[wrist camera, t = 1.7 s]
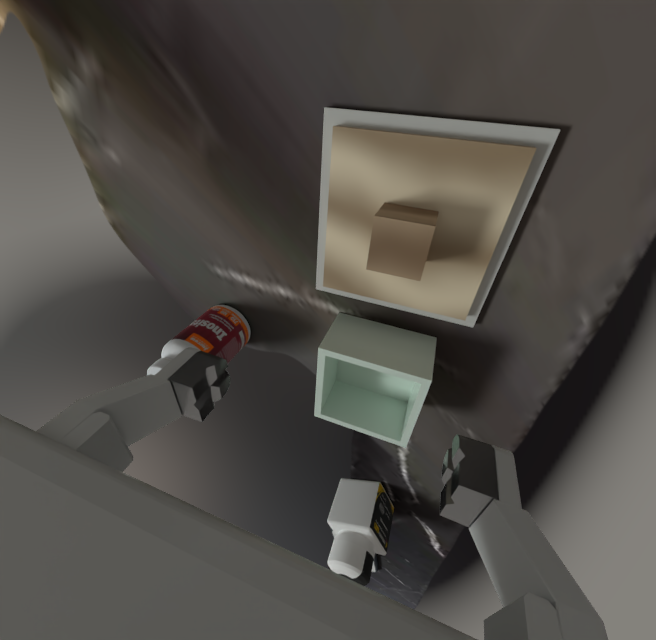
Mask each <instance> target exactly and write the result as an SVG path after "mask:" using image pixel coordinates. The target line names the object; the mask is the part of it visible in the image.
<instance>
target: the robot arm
mask: <svg viewBox="0 0 656 640" xmlns="http://www.w3.org/2000/svg"><path fill="white" fill-rule="evenodd" d="M227 367H228V364H227V360H226V359H223V358H220V357H218V356H215V355H212V354H209V353H206V352H204V351H201V350H198V349H195V348H192V347H188V348H185V349H184V350H183V351H182V352H181V353H179V354H178V355H177V356H176V357H175V358H174V359H173V360H171V361H170V362H169V363H168V364H167V365H166V366H165V367H163V368H162V369H161V370H160V371H159V372H158V373H157V374H155V375H152V374H150V375H147V376H145V377H142V378H139V379H136V380H133V381H130V382H127V383H125V384H122V385H119V386H116V387H113V388H111V389H107V390H105V391H102V392H99V393H96V394H93V395H90V396H88V397H85V398H82V399H79V400H77V401H76V402H74V403H73V404H71V405H70V406H69V407H67V408H66V409H65V410H64V411H62V412H61V413H60V414H58V415H57V416H56V417H54V418H53V419H52V420H50V421H49V422H48V423H46V424H45V425H44V426H42V427H41V428H40V429H39V430H37V431H34V430H32V429H30V428H28V427H25V426H24V425H21V424H19V423H17V422H15V421H13V420H11V419H9V418H6V417H4V416H2V415H0V640H477V639H475V638H473V637H471V636H469V635H466V634H464V633H462V632H460V631H458V630H456V629H454V628H452V627H449V626H447V625H445V624H443V623H441V622H439V621H437V620H435V619H433V618H430V617H428V616H426V615H424V614H422V613H420V612H418V611H416V610H413V609H411V608H409V607H407V606H405V605H403V604H401V603H399V602H397V601H394V600H392V599H390V598H388V597H386V596H384V595H382V594H380V593H377V592H375V591H373V590H371V589H369V588H367V587H365V586H363V585H360V584H358V583H356V582H354V581H352V580H350V579H348V578H346V577H344V576H341V575H339V574H337V573H335V572H333V571H331V570H329V569H326V568H324V567H322V566H320V565H318V564H316V563H314V562H312V561H310V560H307V559H305V558H303V557H301V556H299V555H297V554H295V553H293V552H290V551H288V550H286V549H284V548H282V547H280V546H278V545H276V544H274V543H271V542H269V541H267V540H265V539H263V538H261V537H259V536H257V535H255V534H252V533H250V532H248V531H246V530H244V529H241V528H240V527H238V526H235V525H233V524H231V523H229V522H227V521H225V520H223V519H221V518H218V517H216V516H214V515H212V514H210V513H208V512H205V511H204V510H201V509H199V508H197V507H195V506H193V505H191V504H189V503H187V502H185V501H182V500H180V499H178V498H176V497H174V496H172V495H170V494H168V493H166V492H163V491H161V490H159V489H157V488H155V487H153V486H151V485H149V484H146V483H144V482H142V481H140V480H138V479H136V478H134V477H132V476H129V475H127V474H125V473H123V471H124V470H125V469H126V468H127V467H128V466H129V464H130V463H131V462H132V461H133V455H132V453H131V452H130V450H129V448H128V446H130V445H131V444H133V443H135V442H137V441H139V440H140V439H142V438H144V437H146V436H148V435H149V434H151V433H153V432H155V431H157V430H158V429H160V428H162V427H164V426H166V425H168V424H169V423H171V422H173V421H175V420H177V419H178V418H180V417H182V415H184V416H186V417H189V418H192V419H195V420H198V421H200V422H203V421H204V419H205V418H206V417H207V416H208V415H209V413H210V412H211V411H212V410H213V409H214V402H215V401H218V400H220V399H222V398H223V396H224V395H225V394H226V392H227V390H228V388H229V386H230V375H229V374H228V372H227V371H226V370H225V369H226V368H227ZM441 479H442V481H443V482H444V484H445V486H444V488H443V489H442V491H441V493H440V514H439V515H441V516H443V517H445V518H448V519H450V520H453V521H455V522H457V523H460V524H462V525H464V526H467V527H469V530H470V533H471V535H472V537H473V540H474V542H475V544H476V546H477V549H478V551H479V553H480V556H481V558H482V560H483V562H484V565H485V567H486V569H487V572H488V574H489V576H490V578H491V581H492V583H493V585H494V587H495V590H496V592H497V594H498V596H499V599H500V601H501V603H502V606H503V608H502V609H501V610H499V611H498V612H496V613H494V614H493V615H491V616H489V617H488V618H487V619H485V620H484V640H608V638H607V634H606V630H605V626H604V623H603V621H602V619H601V618H600V616H599V615H598V613H597V612H596V611H595V609H594V608H593V607H592V605H591V603H590V602H589V600H588V599H587V597H586V596H585V595H584V593H583V592H582V590H581V589H580V587H579V586H578V584H577V583H576V581H575V580H574V578H573V577H572V575H571V574H570V573H569V571H568V570H567V568H566V567H565V565H564V564H563V562H562V561H561V559H560V558H559V556H558V555H557V554H556V552H555V551H554V549H553V548H552V546H551V545H550V543H549V542H548V540H547V539H546V537H545V536H544V535H543V533H542V532H541V530H540V529H539V527H538V526H537V524H536V523H535V521H534V520H533V519H532V517H531V516H530V514H529V513H528V511H525V510H523V509H522V508H521V501H520V494H519V488H518V481H517V475H516V468H515V462H514V456H513V454H512V452H510V451H507V450H504V449H501V448H498V447H495V446H492V445H490V444H487V443H484V442H480V441H477V440H474V439H471V438H468V437H464V436H461V435H458V434H457V435H456V436H455V438H454V439H453V445H452V448H450V449H448V451H447V453H446V455H445V458H444V461H443V466H442V476H441Z"/></svg>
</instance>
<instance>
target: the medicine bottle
mask: <svg viewBox="0 0 656 640" xmlns="http://www.w3.org/2000/svg"><path fill="white" fill-rule="evenodd" d="M393 512H394V506H393V505H392V503H391V501H390V499H389V497H388V495H387V493H386V492H385V490H384V488H383V486H382V484H381V483H380V482H377V481H367V480H358V479H348V478H341V480H340V483H339V486H338V489H337V492H336V495H335V498H334V502H333V504H332V507H331V511H330V514H329V517H328V520H327V522H328V524H329V525H330V527H331V528H332V530H333V531H334V532H335V534H336V536H335V538H334V542H333V545H332V548H331V552H330V555H329V558H328V562H327V564H328V568H329V570H331V571H333V572H335V573H337V574H339V575H341V576H344V577H346V578H348V579H350V580H352V581H354V582H356V583H358V584H360V585H363V586H365V585H367V584H368V583H369V581H370V576H371V571H372V566H373V561H374V556H375V553H376V554H381V555H386V553H387V547H388V541H389V535H390V529H391V524H392V518H393Z"/></svg>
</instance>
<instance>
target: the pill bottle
mask: <svg viewBox="0 0 656 640" xmlns="http://www.w3.org/2000/svg"><path fill="white" fill-rule="evenodd" d="M250 335H251V331H250V327H249V324H248V322H247V320H246V319H245V318H244V316H243V315H242V314H241V313H240V312H239V311H237V310H236V309H234V308H232V307H230V306H227V305H216V306H213V307H212V308H210V309H209V310H208V311H206V312H205V313H204V314H203V315H202V316H200V317H199V318H198V319H197V320H195V321H194V322H193V323H192V324H190V325H189V326H188V327H187V328H186V329H184V330H183V331H182V332H180V333H179V334H178V335H177V336H175V337H174V338H173V339H172V340H170V341H169V342H168V343H167V344H166V345H165V346H164V347H163V350H162V358H161V359H159V360H157V361H156V362H155V363H154V364H153V365H151V366H150V367H149V368H148V370H147V375H150V374H152V375H155V374H157V373H158V372H159V371H160V370H161V369H162V368H163V367H165V366H166V365H167V364H168V363H169V362H170V361H171V360H173V359H174V358H175V357H176V356H177V355H178V354H179V353H181V352H182V351H183V350H184V349H185V348H188V347H192V348H195V349H198V350H201V351H204V352H206V353H209V354H212V355H215V356H218V357H220V358H223V359H226V360H227V364H228V362H230V360H231V359H232V358H233V357H234V356H235V355H236V354H237V353H238V352H239V351H240V350H241V349H242V348H243V347H244V345H245V344H246V343H247V342H248V341H249V339H250Z"/></svg>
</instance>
